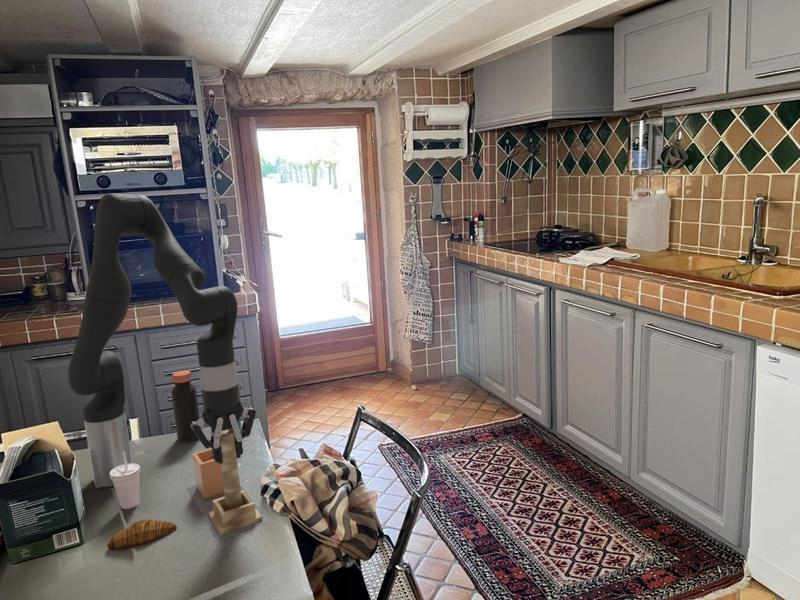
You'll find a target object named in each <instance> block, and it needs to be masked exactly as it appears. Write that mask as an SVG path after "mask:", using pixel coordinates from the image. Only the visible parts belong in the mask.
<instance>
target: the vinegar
mask: <svg viewBox="0 0 800 600" xmlns="http://www.w3.org/2000/svg"><path fill="white" fill-rule="evenodd" d="M172 381H173V384H174V387H173V388H172V390H171V391H170V392H171V394H170V395H171V400H172V401H171V402H172V408H173V414H174V415H173V416H174V422H175V431H176V437H177V440H178V441H179V442H180V443H188V442H189V443H190V441H191V442H194V441H197V440H199V439H198V437H197V435H196V434H195V432H194V431H193V429H192V427H191V426H190V423H191V422H192V421H195V422H196V421H197V420H199V419H200V418H201V416H200V409H199V399H198V393H197V387H196V386H195V385H193V383H191V382H192V374H191V370H179V371H175V372H174V373H172Z"/></svg>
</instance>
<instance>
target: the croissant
mask: <svg viewBox="0 0 800 600" xmlns="http://www.w3.org/2000/svg"><path fill="white" fill-rule="evenodd" d="M177 529H178V527H177V525H176V524H175V523H173V522H171V521H164V520H154V519H150V518H148V519H147V518H145V519H139V520H137V521H135V522H133V523H132V524H130V525H129V526H128V527H126V528H124V529H122V530H120V531H119V532H117V533H115V534H114V535H113V536H112V537H111V538H110V539H109V540H107V545H106V546H107V549H108V550H109V551H121V550H129V549H134V548H135V549H136V547H135V546H139V545H144V544H146V543H150V542H152V541H154V540H155V541H156V540H157V539H161V538H163V537H166V536H167V535H170V534H172V533H173V532H176V530H177Z"/></svg>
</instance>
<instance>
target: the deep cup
mask: <svg viewBox="0 0 800 600" xmlns="http://www.w3.org/2000/svg"><path fill="white" fill-rule="evenodd" d="M191 455H192V462H193V470H194V478H195V483H196V484H195V486H197V489H198V491H199V492H200V494H201V496H202V497H203V499H204V500H208V499H211V498H214V497H217V496H220V495H223V494H224V486H223V478H222V469H221V464H218V462H216V461H215V460H214V459H213V453H212V448H206V449H204V450H201V451H197V452H194V453H192V454H191Z"/></svg>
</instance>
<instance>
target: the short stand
mask: <svg viewBox="0 0 800 600" xmlns="http://www.w3.org/2000/svg"><path fill="white" fill-rule="evenodd" d="M244 490H245V489H244ZM244 490H243V491H241V497H242V502H241V503H240V504H238V505H236V506H227V505H226V502H225V497H222V498H219V499H216V500H213V507H214V511H211V512H208V513H209V517H210V518H211V520H212V522H213V523H214V525H215V527H216V528H217V530H218V531H219V533H220V535H223V534H226V533H228V532H231V531H234V530H236V529H239V528H242V527H245V526H247V525H250V524H253V523H255V522H258V521H261V520H262V516H261V514H260V513H259V512H258V511H257V509H256V508H255V504H256V503H255V502H253V501H254V500H253V499H252V498H251V496H250V495H249V494H248V493H247V491H246V492H245V491H244ZM247 494H248V495H249V496H250V497H249V496H248V495H247ZM251 499H252V500H253V501H252V500H251Z"/></svg>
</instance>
